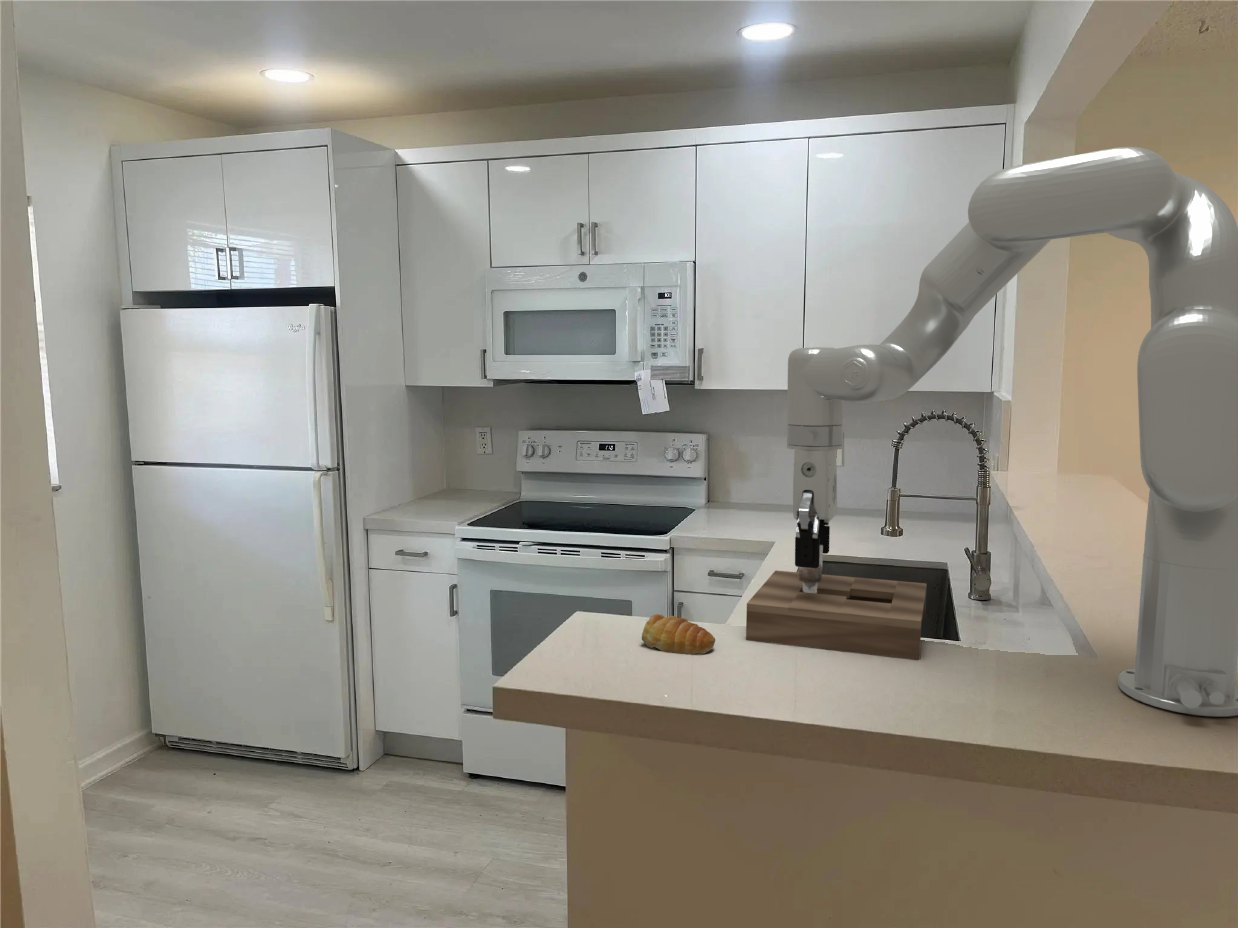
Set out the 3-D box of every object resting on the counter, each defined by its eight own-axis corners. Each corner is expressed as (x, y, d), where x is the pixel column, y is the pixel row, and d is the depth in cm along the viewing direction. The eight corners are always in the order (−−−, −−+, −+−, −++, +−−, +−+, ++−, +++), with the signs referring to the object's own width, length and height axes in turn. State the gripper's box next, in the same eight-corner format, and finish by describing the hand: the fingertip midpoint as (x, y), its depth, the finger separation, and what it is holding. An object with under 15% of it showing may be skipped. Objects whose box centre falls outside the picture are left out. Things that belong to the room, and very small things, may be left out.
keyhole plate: (919, 659, 111) (921, 621, 111) (745, 639, 119) (746, 603, 119) (925, 616, 130) (926, 583, 129) (774, 601, 138) (775, 570, 137)
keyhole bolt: (822, 630, 123) (825, 549, 122) (790, 627, 125) (792, 546, 123) (826, 622, 127) (829, 543, 126) (795, 618, 129) (798, 540, 127)
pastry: (723, 646, 117) (724, 618, 117) (700, 661, 111) (701, 632, 111) (661, 634, 122) (661, 607, 121) (636, 648, 116) (636, 620, 116)
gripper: (834, 443, 114) (831, 575, 115) (849, 433, 130) (847, 549, 131) (775, 442, 116) (773, 571, 118) (797, 432, 132) (796, 546, 134)
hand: (812, 559), depth 125 cm, fingers open, 9 cm apart
